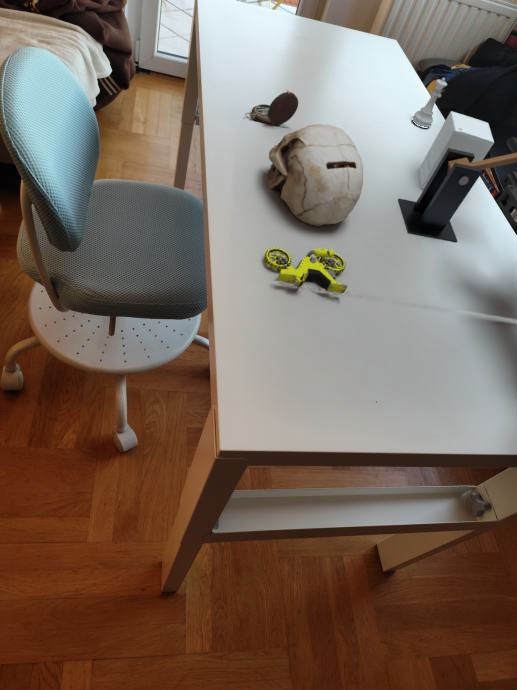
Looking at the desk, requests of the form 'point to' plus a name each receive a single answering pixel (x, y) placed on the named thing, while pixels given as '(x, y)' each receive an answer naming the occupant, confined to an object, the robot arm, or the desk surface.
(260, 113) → the compass
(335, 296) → the desk surface
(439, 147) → the white packaging box
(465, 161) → the lever
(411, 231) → the bracket
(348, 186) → the coin bank
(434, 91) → the chess piece
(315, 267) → the toy motorcycle
